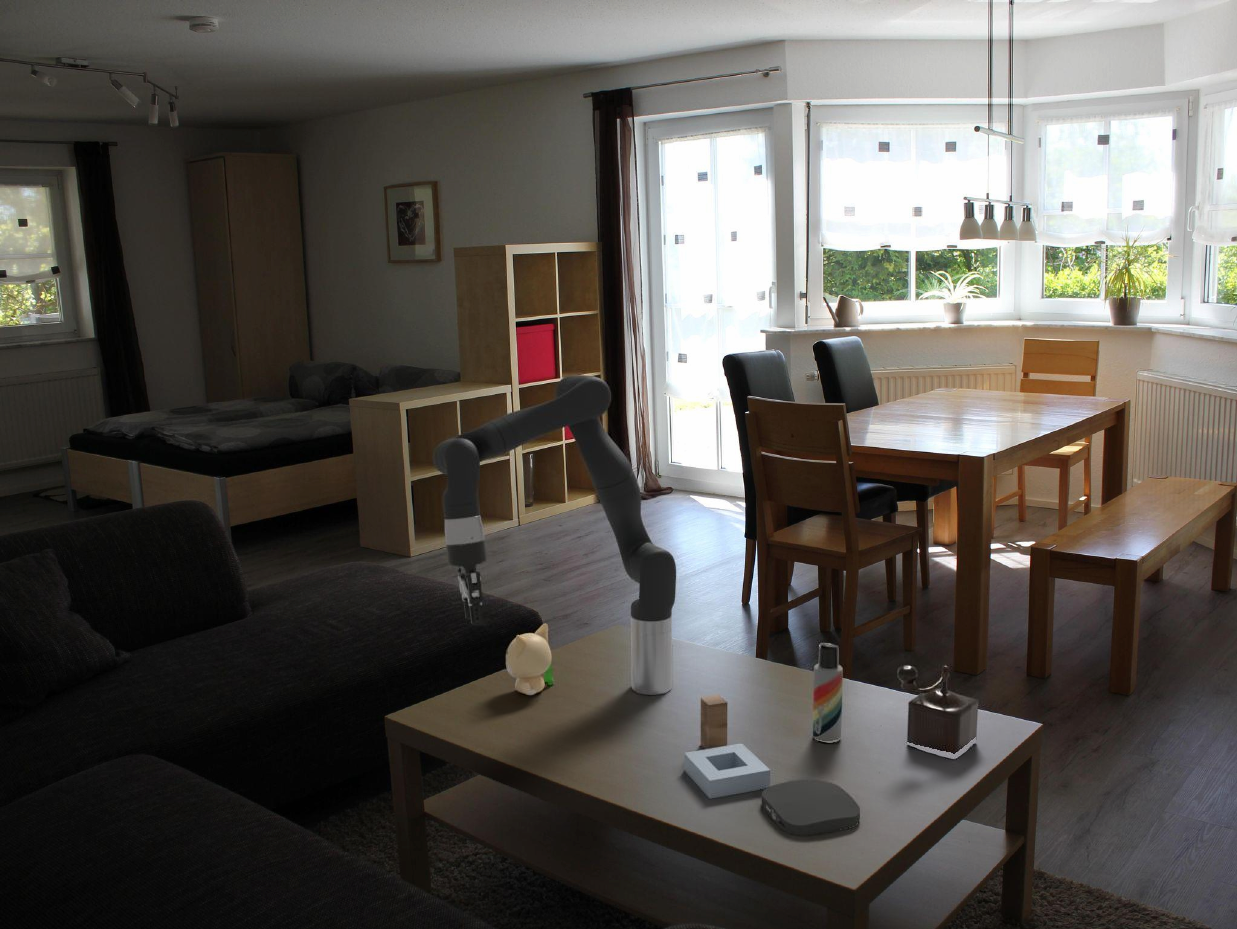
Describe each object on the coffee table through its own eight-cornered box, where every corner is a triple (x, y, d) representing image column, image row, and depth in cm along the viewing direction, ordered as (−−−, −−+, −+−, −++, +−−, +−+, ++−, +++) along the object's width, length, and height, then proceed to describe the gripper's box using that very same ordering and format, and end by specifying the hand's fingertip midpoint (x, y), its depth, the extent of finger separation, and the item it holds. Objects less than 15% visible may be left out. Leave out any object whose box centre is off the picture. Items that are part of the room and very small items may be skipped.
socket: (684, 770, 203) (684, 752, 202) (741, 760, 207) (741, 743, 206) (709, 798, 192) (709, 780, 191) (770, 787, 196) (770, 769, 195)
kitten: (535, 676, 252) (533, 615, 249) (568, 685, 246) (567, 622, 243) (492, 696, 240) (490, 632, 237) (526, 706, 234) (524, 641, 231)
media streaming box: (868, 827, 182) (868, 811, 182) (789, 841, 178) (790, 824, 177) (828, 788, 196) (828, 773, 195) (754, 800, 192) (754, 785, 191)
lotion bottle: (807, 738, 216) (808, 644, 213) (822, 729, 220) (824, 637, 217) (831, 746, 212) (833, 650, 209) (846, 737, 216) (849, 643, 213)
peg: (700, 744, 214) (700, 697, 212) (718, 741, 215) (719, 694, 213) (708, 753, 210) (708, 705, 208) (727, 750, 212) (727, 702, 210)
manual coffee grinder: (926, 728, 220) (929, 645, 217) (977, 743, 213) (982, 657, 210) (889, 753, 209) (892, 666, 206) (943, 770, 202) (947, 680, 199)
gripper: (489, 540, 204) (499, 624, 204) (478, 535, 218) (487, 614, 218) (450, 545, 202) (460, 630, 202) (442, 540, 216) (451, 620, 216)
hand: (474, 621), depth 210 cm, fingers open, 8 cm apart
